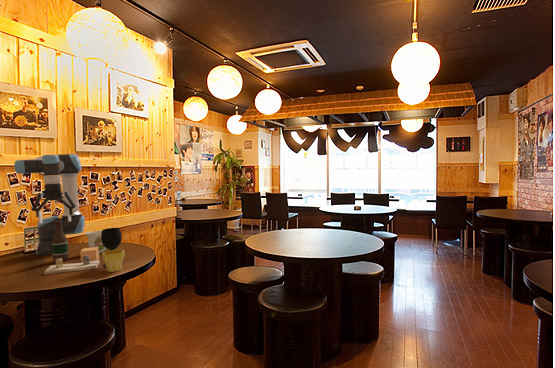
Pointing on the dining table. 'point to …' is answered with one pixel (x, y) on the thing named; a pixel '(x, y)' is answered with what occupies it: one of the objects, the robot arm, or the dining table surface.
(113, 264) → the plant pot
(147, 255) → the dining table surface
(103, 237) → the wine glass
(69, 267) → the post board
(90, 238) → the pitcher
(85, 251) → the tan block
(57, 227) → the beer bottle
